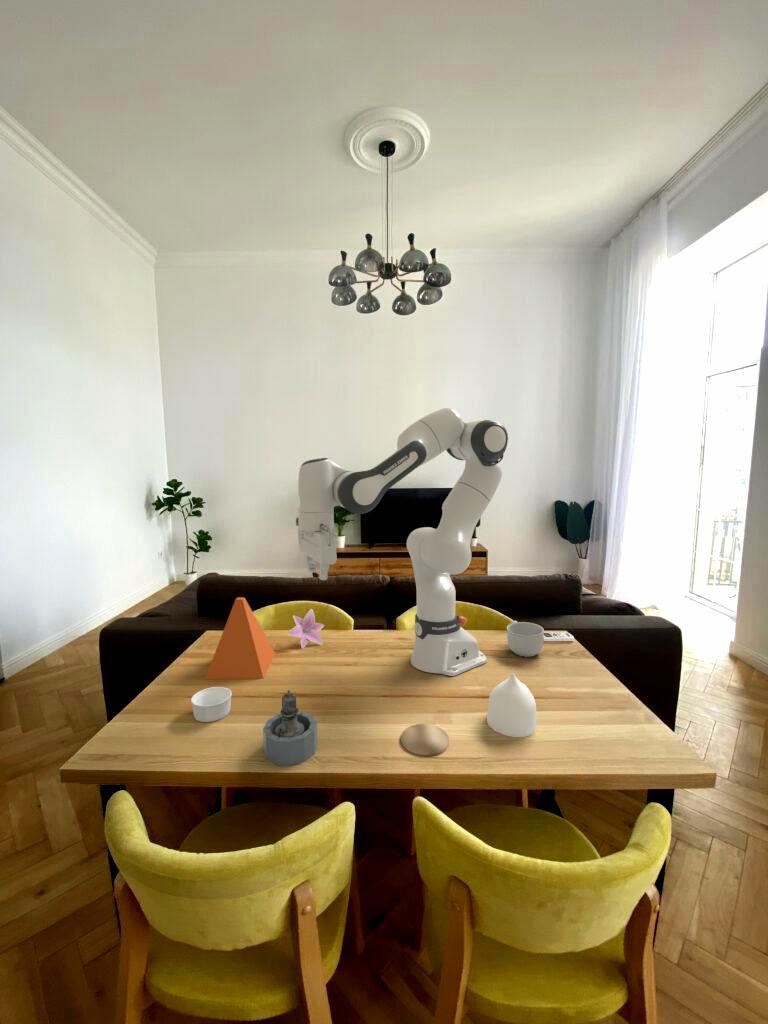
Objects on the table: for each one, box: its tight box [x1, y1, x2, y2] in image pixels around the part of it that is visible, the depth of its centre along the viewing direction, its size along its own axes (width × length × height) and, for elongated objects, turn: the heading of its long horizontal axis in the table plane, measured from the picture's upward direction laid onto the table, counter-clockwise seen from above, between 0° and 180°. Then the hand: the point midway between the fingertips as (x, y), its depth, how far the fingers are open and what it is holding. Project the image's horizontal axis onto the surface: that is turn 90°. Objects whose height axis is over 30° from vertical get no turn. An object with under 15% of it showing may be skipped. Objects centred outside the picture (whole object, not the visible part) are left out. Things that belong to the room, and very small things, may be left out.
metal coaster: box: [400, 723, 450, 757], centre depth 95 cm, size 10×10×1 cm
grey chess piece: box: [275, 689, 304, 738], centre depth 91 cm, size 6×6×12 cm
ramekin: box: [190, 686, 233, 723], centre depth 105 cm, size 9×9×4 cm
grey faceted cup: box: [262, 710, 318, 767], centre depth 92 cm, size 10×10×5 cm
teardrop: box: [486, 672, 538, 738], centre depth 101 cm, size 11×11×12 cm
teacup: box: [506, 620, 545, 658], centre depth 139 cm, size 14×11×8 cm
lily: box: [286, 608, 325, 649], centre depth 145 cm, size 12×12×10 cm
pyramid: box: [204, 597, 276, 680], centre depth 128 cm, size 16×16×20 cm
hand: (317, 575), depth 116 cm, fingers open, 8 cm apart
